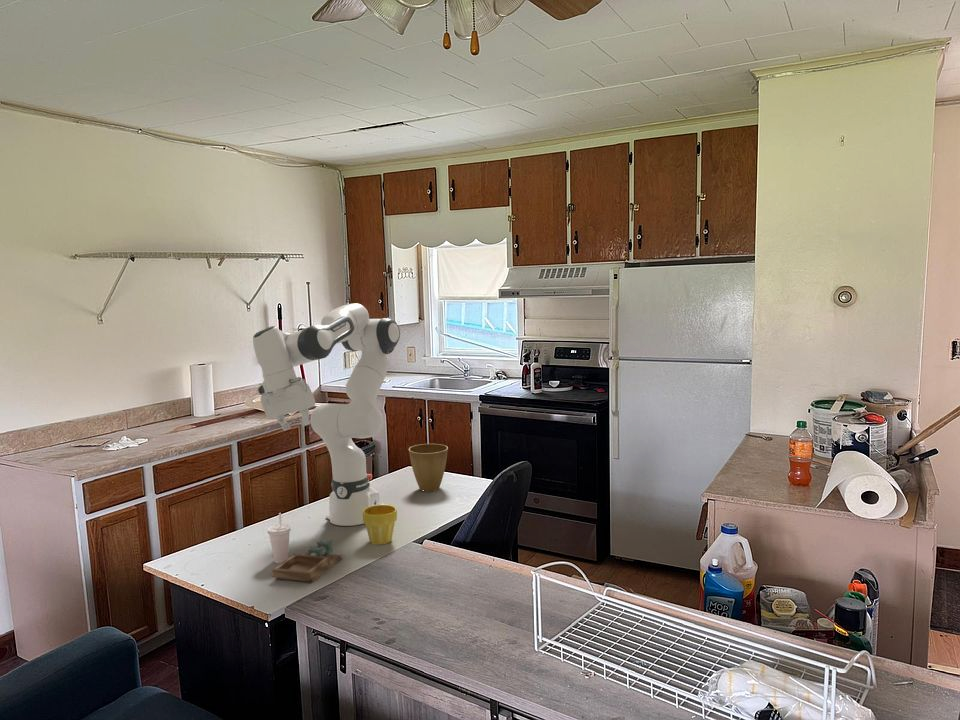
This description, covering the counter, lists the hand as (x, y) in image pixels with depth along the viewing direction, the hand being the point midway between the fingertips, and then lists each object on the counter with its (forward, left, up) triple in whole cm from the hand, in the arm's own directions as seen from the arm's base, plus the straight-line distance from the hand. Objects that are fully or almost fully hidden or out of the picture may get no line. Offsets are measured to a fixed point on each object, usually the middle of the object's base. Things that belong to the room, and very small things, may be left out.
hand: (296, 427), depth 195 cm
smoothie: (+8, -3, -37) cm, 38 cm away
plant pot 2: (-65, +15, -37) cm, 77 cm away
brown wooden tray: (+10, +8, -37) cm, 39 cm away
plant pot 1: (-12, +19, -37) cm, 44 cm away
